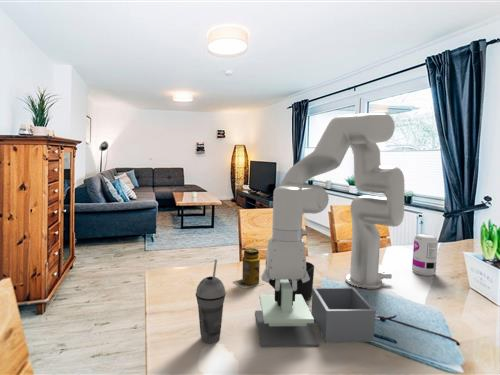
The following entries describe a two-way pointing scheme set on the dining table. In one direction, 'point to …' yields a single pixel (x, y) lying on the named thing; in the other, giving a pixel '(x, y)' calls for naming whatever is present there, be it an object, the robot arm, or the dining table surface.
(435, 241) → the supplement can
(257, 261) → the condiment
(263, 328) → the dark grey flat plate
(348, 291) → the tub
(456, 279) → the dining table surface
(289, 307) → the green slab
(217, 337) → the beverage cup
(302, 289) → the pen holder
